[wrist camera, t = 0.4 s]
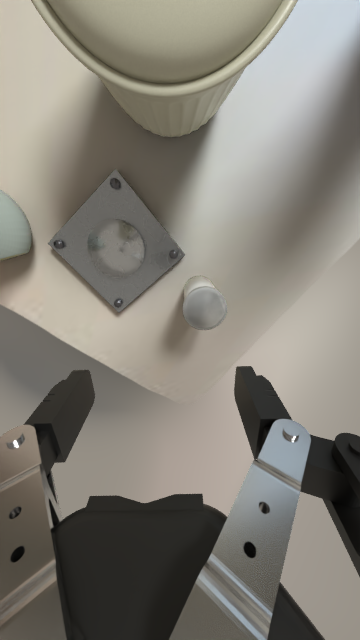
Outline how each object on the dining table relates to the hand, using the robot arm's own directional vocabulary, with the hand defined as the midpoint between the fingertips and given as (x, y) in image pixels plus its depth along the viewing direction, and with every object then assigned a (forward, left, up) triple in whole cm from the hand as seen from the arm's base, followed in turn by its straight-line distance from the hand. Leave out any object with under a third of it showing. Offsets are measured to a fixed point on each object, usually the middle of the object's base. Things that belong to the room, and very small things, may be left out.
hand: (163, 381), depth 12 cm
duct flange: (+3, -9, -25) cm, 27 cm away
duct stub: (-2, +4, -25) cm, 26 cm away
